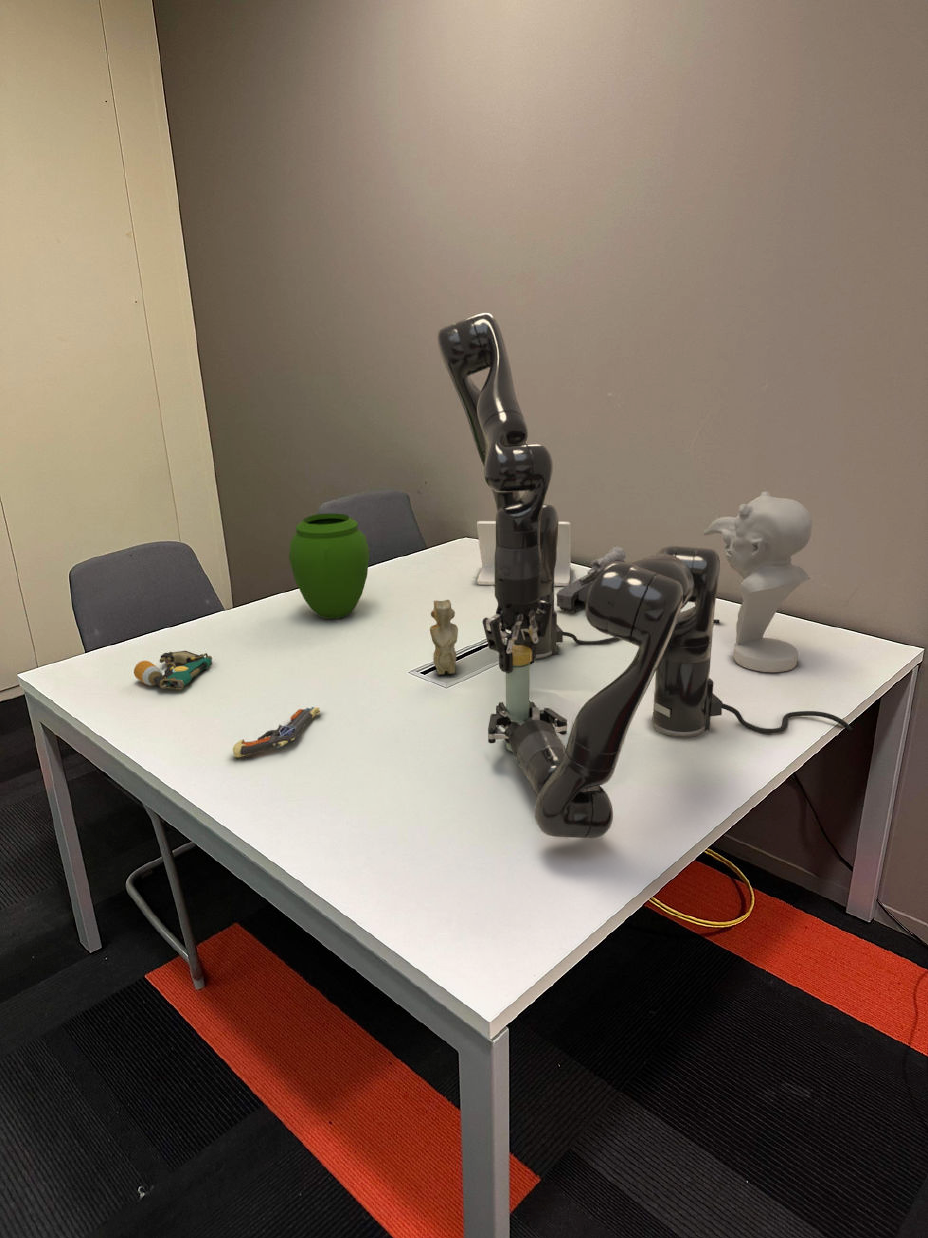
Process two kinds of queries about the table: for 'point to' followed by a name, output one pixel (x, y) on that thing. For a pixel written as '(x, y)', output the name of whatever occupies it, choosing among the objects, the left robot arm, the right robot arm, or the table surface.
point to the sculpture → (444, 637)
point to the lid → (521, 655)
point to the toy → (586, 582)
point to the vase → (329, 563)
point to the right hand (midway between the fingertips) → (513, 705)
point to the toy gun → (277, 734)
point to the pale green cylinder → (518, 693)
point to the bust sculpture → (764, 574)
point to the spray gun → (172, 669)
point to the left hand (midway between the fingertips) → (517, 666)
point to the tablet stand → (489, 545)
